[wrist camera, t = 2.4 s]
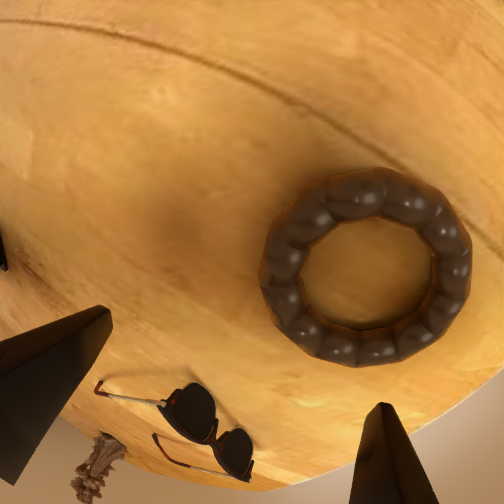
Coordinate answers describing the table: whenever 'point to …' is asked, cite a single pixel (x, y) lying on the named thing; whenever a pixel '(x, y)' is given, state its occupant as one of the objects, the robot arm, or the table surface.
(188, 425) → the sunglasses
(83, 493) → the figurine
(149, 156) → the table surface
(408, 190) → the ring
